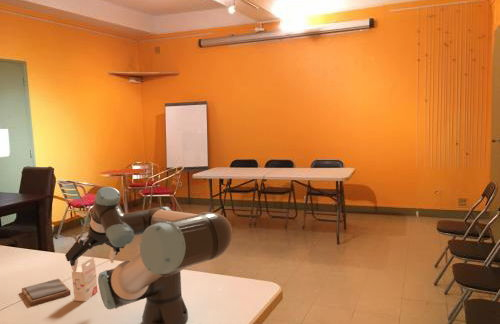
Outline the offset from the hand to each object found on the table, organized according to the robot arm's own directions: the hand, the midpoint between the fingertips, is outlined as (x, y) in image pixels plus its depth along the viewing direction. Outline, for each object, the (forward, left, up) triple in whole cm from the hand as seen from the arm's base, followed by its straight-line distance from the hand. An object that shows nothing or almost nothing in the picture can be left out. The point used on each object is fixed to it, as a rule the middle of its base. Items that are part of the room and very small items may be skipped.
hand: (92, 264), depth 153 cm
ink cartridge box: (+9, +1, -15) cm, 18 cm away
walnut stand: (+23, +12, -15) cm, 30 cm away
